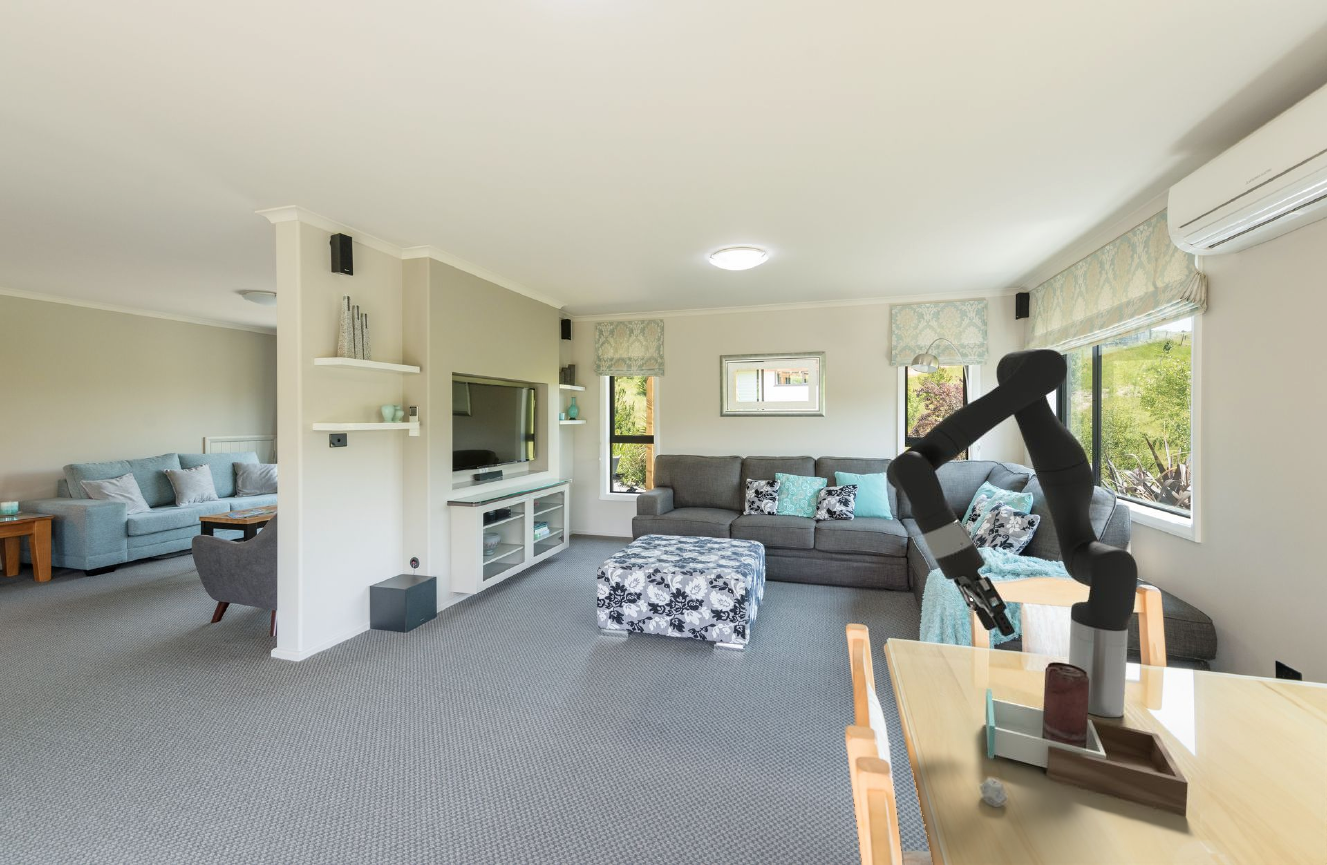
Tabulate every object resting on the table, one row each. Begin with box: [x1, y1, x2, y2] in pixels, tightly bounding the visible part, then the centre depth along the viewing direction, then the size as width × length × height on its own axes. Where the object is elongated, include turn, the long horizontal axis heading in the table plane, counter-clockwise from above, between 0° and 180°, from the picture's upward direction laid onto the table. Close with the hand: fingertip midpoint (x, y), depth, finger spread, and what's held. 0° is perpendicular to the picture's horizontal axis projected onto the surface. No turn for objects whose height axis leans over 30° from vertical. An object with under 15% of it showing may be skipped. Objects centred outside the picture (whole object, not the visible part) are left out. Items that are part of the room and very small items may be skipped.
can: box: [1042, 661, 1090, 749], centre depth 97 cm, size 6×6×14 cm
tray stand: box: [1038, 708, 1188, 817], centre depth 95 cm, size 15×17×5 cm
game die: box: [979, 778, 1009, 808], centre depth 86 cm, size 4×4×3 cm
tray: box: [985, 688, 1106, 769], centre depth 99 cm, size 15×16×5 cm
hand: (1000, 631), depth 104 cm, fingers open, 8 cm apart
